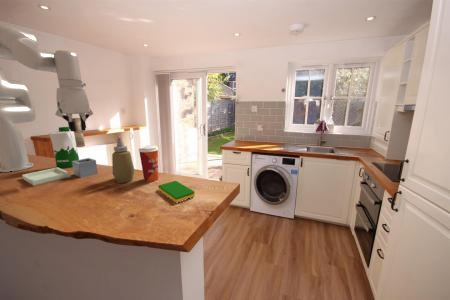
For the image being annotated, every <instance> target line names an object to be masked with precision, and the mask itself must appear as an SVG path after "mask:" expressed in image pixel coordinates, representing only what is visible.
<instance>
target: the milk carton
mask: <svg viewBox="0 0 450 300" xmlns="http://www.w3.org/2000/svg"><path fill="white" fill-rule="evenodd" d="M48 136H49V138H50V141H51V145H52V150H53V155H54V158H55V165H56V168H57V167H58V168H60V169H68V168H71V169H72V168H73V165H72V161H76V160H80V156H79V151H78V147H76V141H75V135H74V132H73V131H71V130H70V129H69V126H61V127H60V126H59V127H58V131H53V132H50V133H48Z"/></svg>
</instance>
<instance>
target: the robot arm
mask: <svg viewBox="0 0 450 300" xmlns="http://www.w3.org/2000/svg"><path fill="white" fill-rule="evenodd" d="M0 59H4V60H9V61H17V62H19V64H22V66H25V67H27V68H29V69H31V70H35V71H42V72H49V73H56V77H57V82H58V87H56V93H55V95H56V106H57V107H56V108H57V110H56V111H55V116H57V117H59V118H62V119H63V120H65V121H66V122H67V124H68V125H67V126H68V127H69V131H73V132H75V131H76V129H75V123H74V122H73V120H72V118H73V115H74V114H75V115H76V114H78V118H81V123H82V130H83V132H84V131H86V129H87V123H86V121H87V119H88V118H89V117H91V116H93V115H94V112H93V110H92V109H91V108H90V102H89V99H88V95H87V92H86V89H84V87H86V85H87V84H86V83H85V82H83V81H82V75H81V69H80V68H81V67H80V60H79V56H78V55H77V53H75V52H74V51H69V50H61V49H60V50H59V49H58V50H55V51H54V52H51V51H48V50H43V49H39V42H38V40H37V38H36V36H35V35H34V34H33V33H32V32H30V31H28V30H25V29H20V28H17V27H15V26H11V25H8V24H4V23H3V24H2V23H0ZM0 101H8V103H7V102H6V103H5V102H2V103H1V102H0V164H1V167H0V173H10V171H12V172H17V171H23V170H27V169H30V168H32V167H34V162H30V161H29V157H28V153H27V148H26V144H25V140H24V135H23V133H22V131H21V130H20V128H18V127H17V126H16V124H24V123H31V122H33V121H35V120H36V115H37V114H36V110H35V106H34V105H35V104H34V102H33V98H32V95H31V92H30V89H29V88H28V86H27V85H26V84H25V83H24V82H21V81H18V80H11V79H7V78H6V76H5V74H4V70H3V68H2V67H1V66H0ZM9 101H14V102H15V103H11V102H10V103H9Z"/></svg>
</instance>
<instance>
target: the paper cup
mask: <svg viewBox="0 0 450 300" xmlns="http://www.w3.org/2000/svg"><path fill="white" fill-rule="evenodd" d="M138 152H139V157H140V164H141V169H142V175H143V179H144V180H143V181H144V182H146V181H147V182H148V183H149V182H150V181H152V182H156V181H158V180H159V147H158V145H154V144H150V145H142V146H140V147H139V148H138ZM155 180H156V181H155ZM150 183H151V182H150Z"/></svg>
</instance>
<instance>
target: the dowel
mask: <svg viewBox="0 0 450 300" xmlns="http://www.w3.org/2000/svg"><path fill="white" fill-rule="evenodd" d="M72 120H73V122H74V123H75V129H76V131H75V132H74V135H75V141H76V147H77V148H85V147H86V144H85V138H84V131H83V130H82V123H81V118H80V117H72Z"/></svg>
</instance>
